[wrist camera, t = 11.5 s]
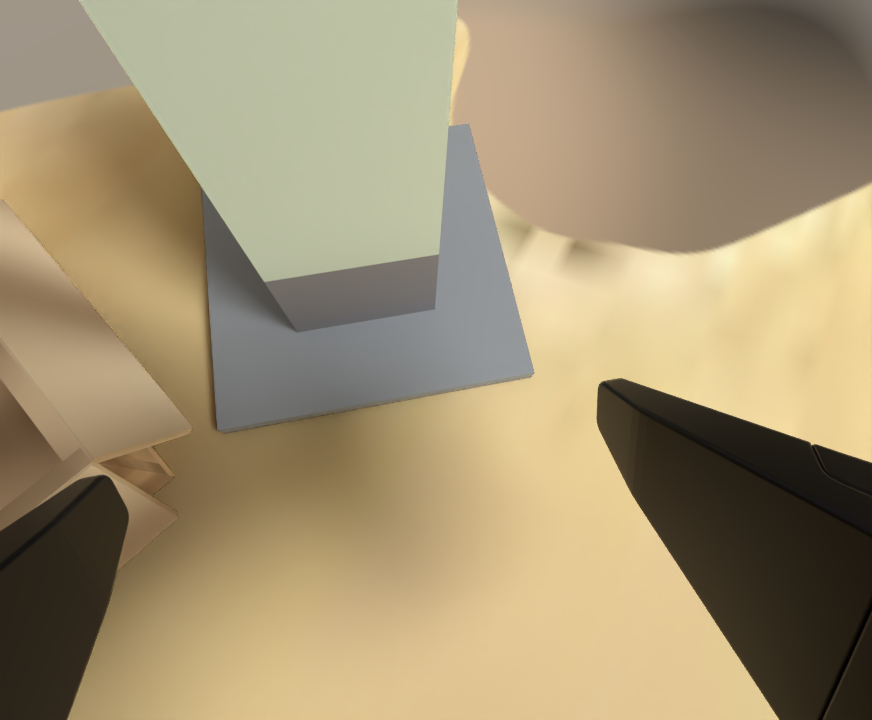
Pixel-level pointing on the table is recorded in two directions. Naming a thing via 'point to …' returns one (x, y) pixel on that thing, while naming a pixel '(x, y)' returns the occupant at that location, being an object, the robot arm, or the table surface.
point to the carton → (73, 396)
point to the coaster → (368, 323)
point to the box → (307, 136)
